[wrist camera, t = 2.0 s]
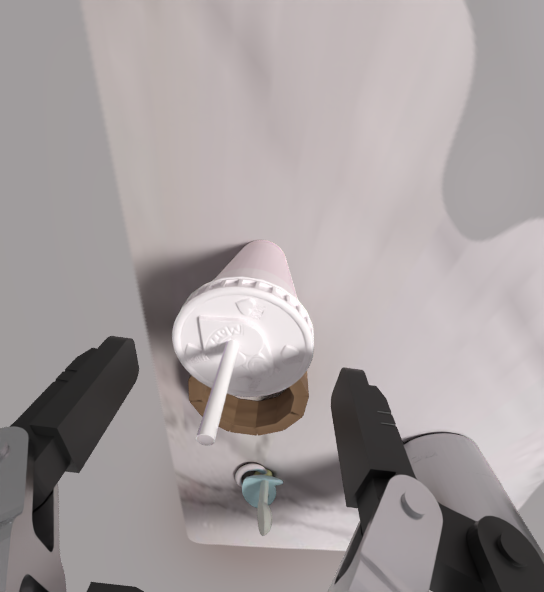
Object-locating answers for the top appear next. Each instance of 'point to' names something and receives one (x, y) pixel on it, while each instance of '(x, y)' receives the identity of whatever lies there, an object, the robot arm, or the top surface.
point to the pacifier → (259, 492)
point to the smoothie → (244, 332)
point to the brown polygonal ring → (255, 408)
